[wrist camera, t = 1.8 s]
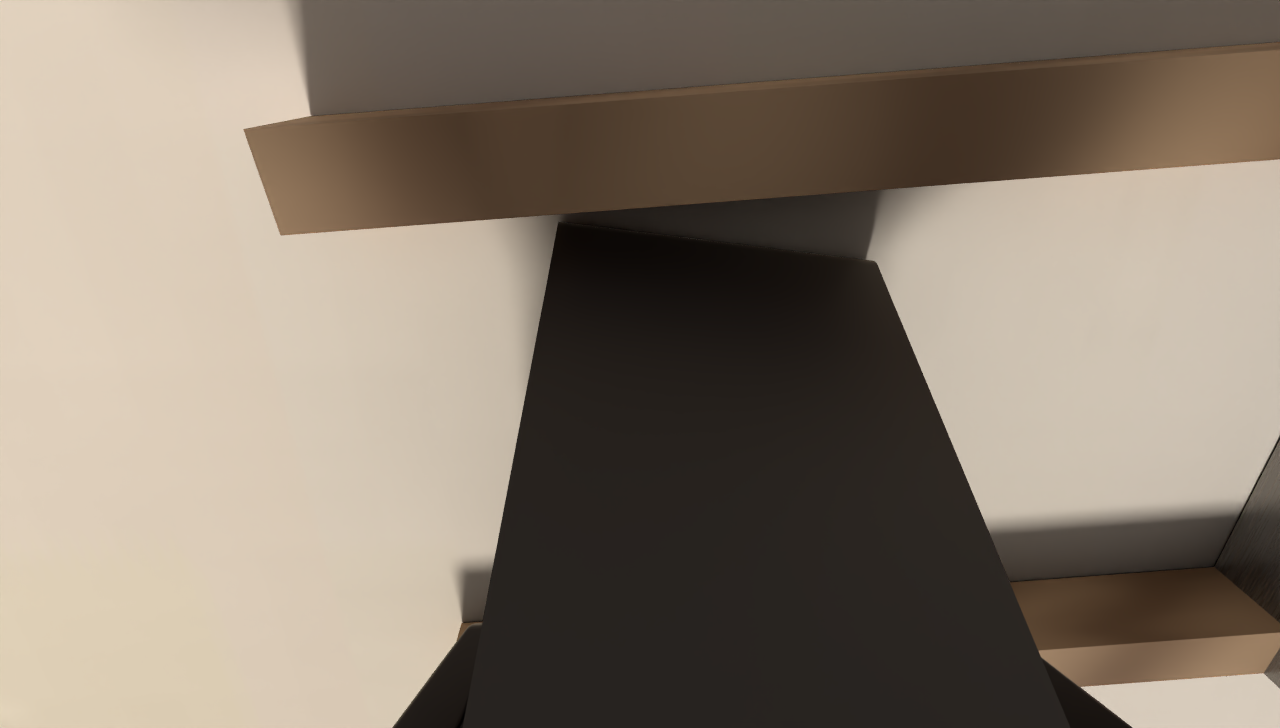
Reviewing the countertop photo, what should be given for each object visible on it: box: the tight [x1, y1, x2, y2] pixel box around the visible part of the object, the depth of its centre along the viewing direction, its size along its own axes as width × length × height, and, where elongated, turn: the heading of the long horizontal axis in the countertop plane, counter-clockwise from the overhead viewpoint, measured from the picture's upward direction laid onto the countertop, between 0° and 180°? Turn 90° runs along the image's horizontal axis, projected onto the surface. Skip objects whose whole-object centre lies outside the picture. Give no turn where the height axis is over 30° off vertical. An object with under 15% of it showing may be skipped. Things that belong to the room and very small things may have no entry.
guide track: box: [244, 42, 1280, 687], centre depth 12 cm, size 21×14×2 cm, turn 94°
